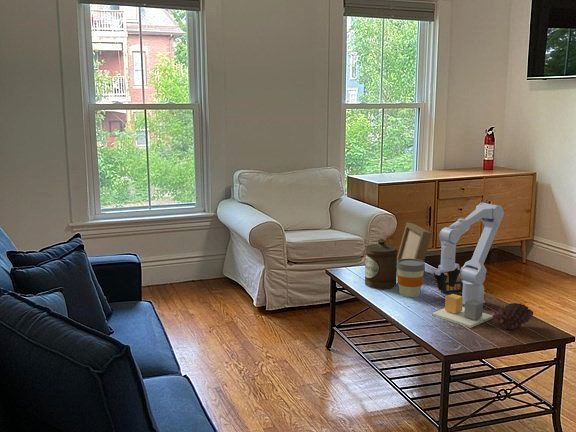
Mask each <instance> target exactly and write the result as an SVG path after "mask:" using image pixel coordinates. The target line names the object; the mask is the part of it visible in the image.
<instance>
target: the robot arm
mask: <svg viewBox="0 0 576 432" xmlns="http://www.w3.org/2000/svg"><path fill="white" fill-rule="evenodd" d="M504 215H505V212H504V208H503V206H502V205H500V204H498V205H497V204H491V203H487V202H480V203H479V204H477V205H476V207H475V209H474V210H473V211H472V212H471V213H469V215H467V216H466V217H464V218H457V221H455V222H454V223H451V224H450V225H449V226H448V227H443V228H442V229H441V230H440V231H439V233H438V238H439V241H440V246H441V248H440V249H441V252H440V264H439V265H437V266H438V268H437V269H435V270H434V272H433V276H434V278H435V281H436V284H437V288H438V290H439V291H440V292H441V291H444V288H445V282H446V279H447V277H449V286H451V287H454V286H455V283H456V280H457V277H458V275H459V276H460V279H462V282H463V292H461V293H462V297H463V305H464V306H465V302H467V301H469V300H476V301H480V302H483V304H485V303H486V301H485V300H484V299H485V298H484V297H485V286H484V282H485V281H486V275H487V272H488V270H487V268H486V267H485V265H484V263H485V261H486V259H487V256H488V254H489V251H490V249H491V247H492V245H493V241H494V240H495V238H496V234H497V232H498V230H499V227H500V225H501V222H502V220H503V218H504ZM478 221H481V223H483V225H484V227H483V230H482V232H481V235H480V237H479V240H478V242H477V245H476V246H475V250H474V251H473V255H472V257H471V258H470V260H467V261H465V262H464V265H463V267H462V266H461V267H460V264H459V263H456V251H457V243H458V242H459V240H460V239H461V237H462V236H463V235H464V234H465V233H466V232H467V231H469V230H470V229H471V228H470V227H471V226H472V225H474V224H475V223H476V222H478ZM459 267H460V270H458V269H459ZM445 272H446V273H447V272H448V276H446V275H447V274H446V275H444V273H445Z"/></svg>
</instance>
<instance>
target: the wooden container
mask: <svg viewBox="0 0 576 432" xmlns="http://www.w3.org/2000/svg"><path fill="white" fill-rule="evenodd" d="M377 242H378V243H372V244H367V245H366V246H365V264H364V266H365V268H364V285H365V286H367V287H368V288H372V289H379V290H387V289H393V288H395V287H397V272H398V271H397V255H398V247H397V246H396V245H393V244H386V240H385V239H383V238H379V239H378V241H377Z"/></svg>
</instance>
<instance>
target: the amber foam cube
mask: <svg viewBox="0 0 576 432" xmlns="http://www.w3.org/2000/svg"><path fill="white" fill-rule="evenodd" d="M444 298H445V300H444V308H445V311H448V312H452V313H455V314H456V313H458V312H460V311H462V307H464V306H463V305H464V304H463V297H462V296H461V295H458V294H455V293H450V294H448V295H446V296H445V297H444Z"/></svg>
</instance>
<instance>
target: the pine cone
mask: <svg viewBox="0 0 576 432" xmlns="http://www.w3.org/2000/svg"><path fill="white" fill-rule="evenodd" d="M493 313H494V314H493V318H495V320H497V321H498V322H500V324H501V326H502V327H504V328H507V329H508V330H509V329H511V330H514V329H517V328H519V327H521V326H522V325H524V324H526V323H528V322H529V321H530V320H531V319H532V317H533V316H534V310H532V309H529V306H527V305H526V304H524V303H523V304H522V303H517V302H513V303H508V304H506V305H505V306H504V307H503V309H501V308H499V309H498V311H495V312H493Z"/></svg>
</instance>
